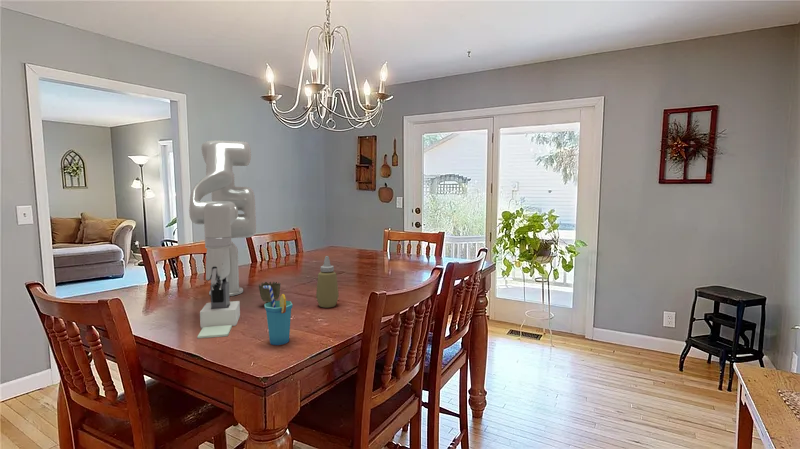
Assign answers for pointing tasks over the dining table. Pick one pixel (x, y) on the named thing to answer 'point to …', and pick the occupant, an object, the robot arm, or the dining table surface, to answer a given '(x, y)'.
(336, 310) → the dining table surface
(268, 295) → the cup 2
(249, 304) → the dining table surface
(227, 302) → the plug
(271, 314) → the cup
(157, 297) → the dining table surface
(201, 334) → the mat
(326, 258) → the squeeze bottle
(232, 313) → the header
